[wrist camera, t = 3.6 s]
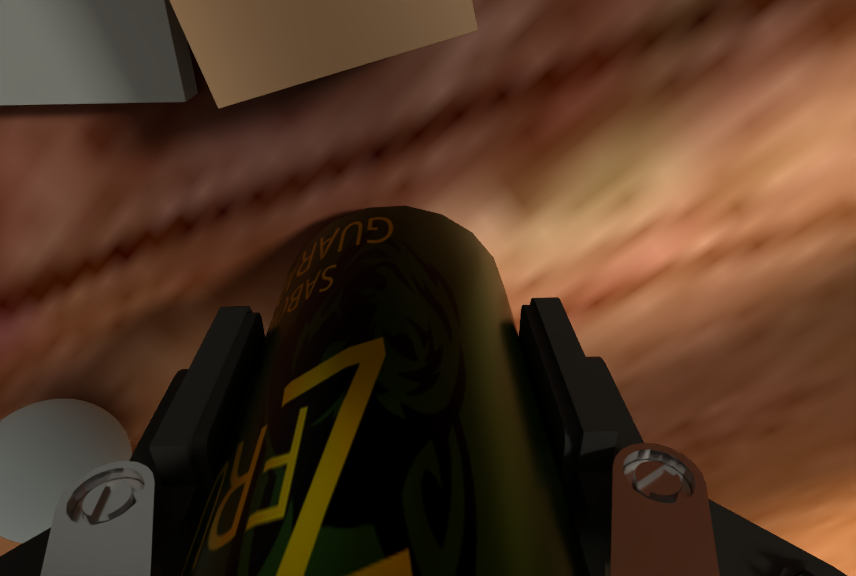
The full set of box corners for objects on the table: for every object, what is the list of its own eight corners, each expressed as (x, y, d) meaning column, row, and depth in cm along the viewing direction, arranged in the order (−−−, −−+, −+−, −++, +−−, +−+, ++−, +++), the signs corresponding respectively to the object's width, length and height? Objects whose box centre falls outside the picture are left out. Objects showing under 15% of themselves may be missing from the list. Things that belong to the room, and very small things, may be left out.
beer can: (544, 283, 15) (860, 1036, 5) (405, 405, 17) (409, 1135, 6) (383, 146, 13) (304, 916, 3) (247, 301, 15) (-113, 1106, 5)
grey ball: (134, 368, 16) (68, 470, 13) (165, 463, 18) (115, 573, 15) (-1, 372, 16) (-100, 476, 13) (45, 467, 18) (-33, 578, 14)
